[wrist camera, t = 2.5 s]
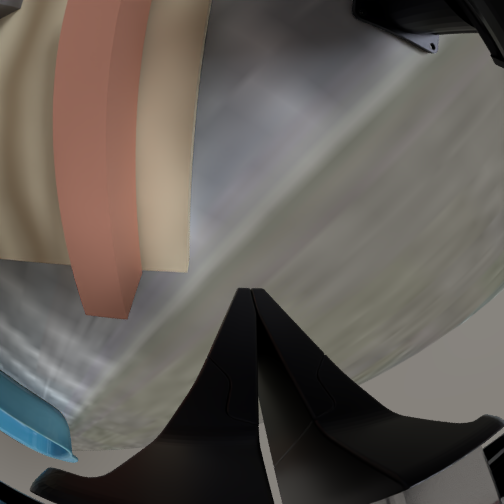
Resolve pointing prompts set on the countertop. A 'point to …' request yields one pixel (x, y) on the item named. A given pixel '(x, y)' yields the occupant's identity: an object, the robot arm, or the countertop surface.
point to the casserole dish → (33, 421)
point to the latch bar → (99, 148)
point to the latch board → (147, 131)
